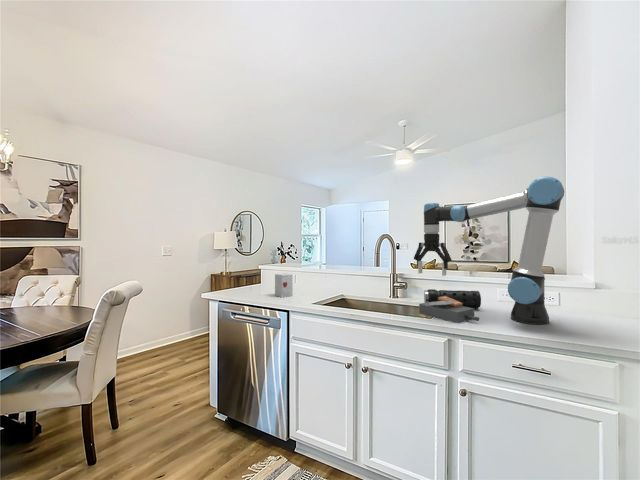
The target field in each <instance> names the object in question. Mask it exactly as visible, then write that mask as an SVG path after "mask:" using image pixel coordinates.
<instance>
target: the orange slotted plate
mask: <svg viewBox="0 0 640 480" xmlns="http://www.w3.org/2000/svg"><path fill="white" fill-rule="evenodd" d="M438 300H440V301H454V303H452V304H449V305H452V306H454V307H457V306H462V305H463V303H461V302H459V301H456V300H454V299H452V298H449V297H447V296H443V297H438Z"/></svg>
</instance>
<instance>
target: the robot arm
mask: <svg viewBox="0 0 640 480" xmlns="http://www.w3.org/2000/svg"><path fill="white" fill-rule="evenodd" d="M564 196H565V188H564V186H563V183H562V182H561V181H560V179H558V178H556V177H553V176H549V175H548V176H541V177H537V178H536V179H534V180H533V181H532V182H531V183H529V186H528V187H527V188H525V189H524V190H523V191H520V192H517V193H512V194H508V195H505V196H500V197H496V198H491V199H489V200H484V201H480V202H476V203H471V204H468V205H456V204H455V205H448V206H447V205H446V206H441V205H440V203H438V202H428V203H425V204H424V205H423V233H424V234H423V241H424V242H418V248H416V249H417V250H416V251H415V254H414V255H413V260H415V261H416V268H417V267H418V268H417V270H418V271H417V273H418V274H423V260H422V259H423V258H424V257H425V255H427V253H428V252H435V253H436V254H437V255H438V257H439V258H440V259H441V261H442V262H441V276H443V277H445V276H447V270H448V268H449V266H448V265H449V263H450V262H452V260H453V259H452V258H451V255H450V253H449V251H448V249H447V247H446V243H445V242H440V234H439V233H440V222H457V223H463V222H466V221H469V220H473V219H479V218H483V217H488V216H493V215H497V214H503V213H507V212H512V211H516V210H517V211H518V210H522V209H526V210H527V211H528V216H527V220H526V221H527V222H526V225H525V230H524V234H523V235H524V236H523V240H522V245H521V249H520V254H519V259H518V264H517V267H515V268H513V270H512V272H511V273H512V274H511V278H510V281H509V283H508V285H507V293H508V296H509V297H510V298H511V299H512V300H513V301H514V304H513V307H512V310H511V313H510V319H511V320H512V321H515V322H518V323H522V324H531V325H547V324H549V323H550V317H549V314H548V311H547V308H546V306H545V281H546V277H545V276H546V275H545V274H544V272H542V269H543V263H544V259H545V255H546V250H547V246H548V241H549V235H550V232H551V226H552V223H553V217H554V215H555V214H556V213H558V212H559V211H560V206H561V204H562V203H561V202H562V200H563V199H564Z"/></svg>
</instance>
